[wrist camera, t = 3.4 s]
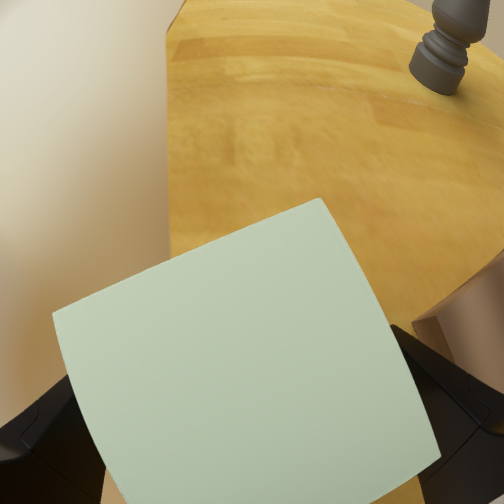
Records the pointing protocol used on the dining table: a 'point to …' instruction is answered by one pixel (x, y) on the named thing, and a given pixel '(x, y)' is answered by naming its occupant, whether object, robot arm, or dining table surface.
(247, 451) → the sage pillar block
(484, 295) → the walnut block
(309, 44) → the dining table surface
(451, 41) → the candle holder
